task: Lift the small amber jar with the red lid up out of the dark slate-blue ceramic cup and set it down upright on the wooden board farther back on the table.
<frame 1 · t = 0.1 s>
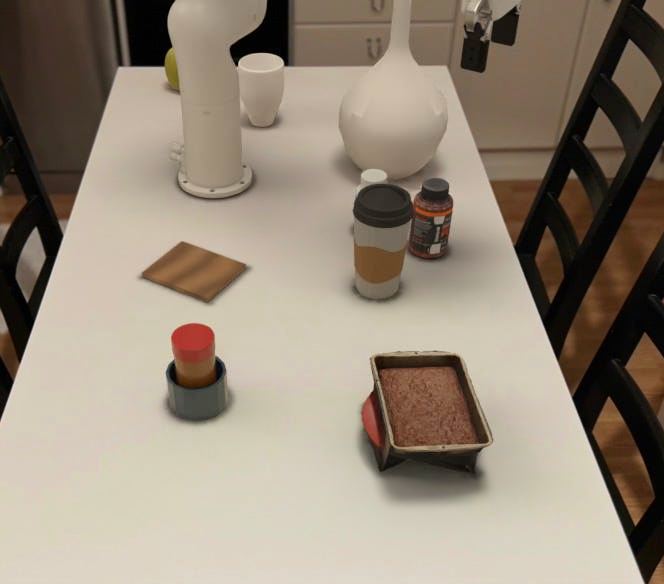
hand: (487, 56, 118), 31 cm above the table, tool pointing down, fingers open, 9 cm apart
pill bottle: (370, 231, 145), on the table
supplement bottle: (427, 250, 142), on the table
wooden board: (194, 272, 137), on the table
vase: (388, 166, 160), on the table
coffee cup: (376, 288, 134), on the table
jar: (198, 397, 116), resting on cup
baking dish: (419, 440, 112), on the table
mug: (262, 118, 174), on the table
apple: (186, 88, 183), on the table
cup: (198, 400, 117), on the table
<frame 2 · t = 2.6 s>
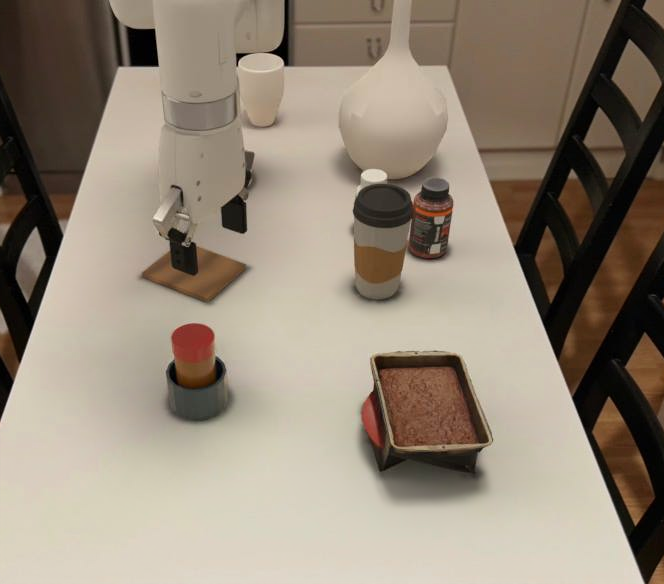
hand: (210, 249, 103), 21 cm above the table, tool pointing down, fingers open, 9 cm apart
nothing on the table moved.
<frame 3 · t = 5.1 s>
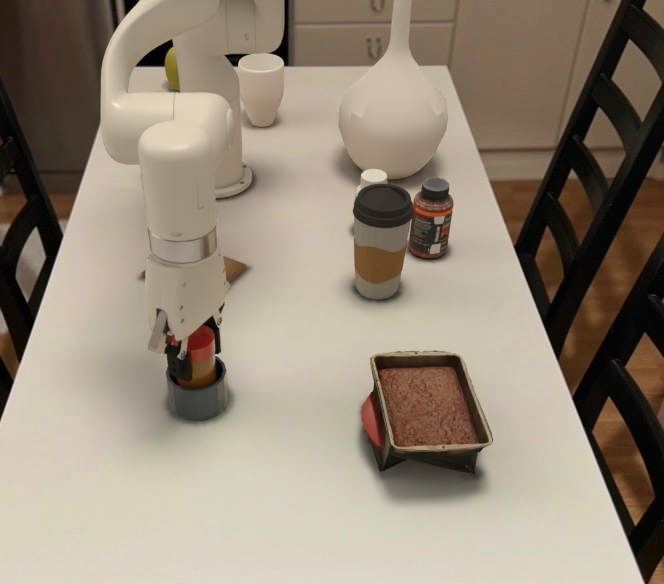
hand: (195, 362, 112), 6 cm above the table, tool pointing down, fingers closed on jar, 5 cm apart
jar: (198, 397, 116), resting on cup, touching gripper
everything else where it was.
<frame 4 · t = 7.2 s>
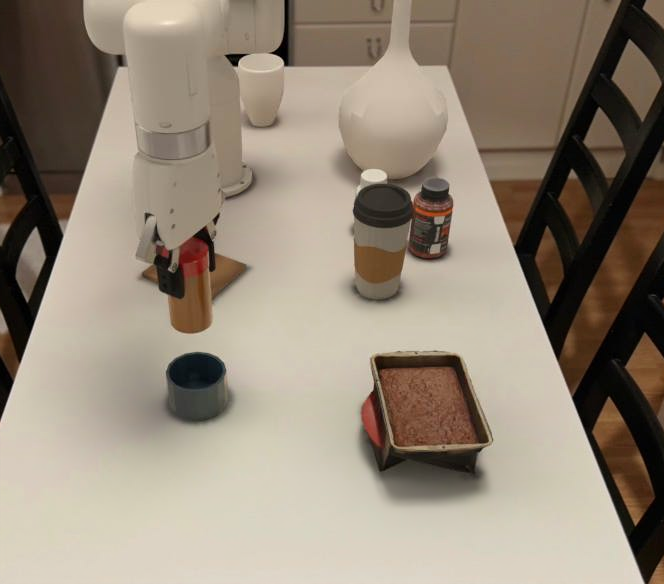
hand: (187, 279, 104), 19 cm above the table, tool pointing down, fingers closed on jar, 5 cm apart
jar: (191, 320, 108), point 13 cm above the table, touching gripper
everything else where it was.
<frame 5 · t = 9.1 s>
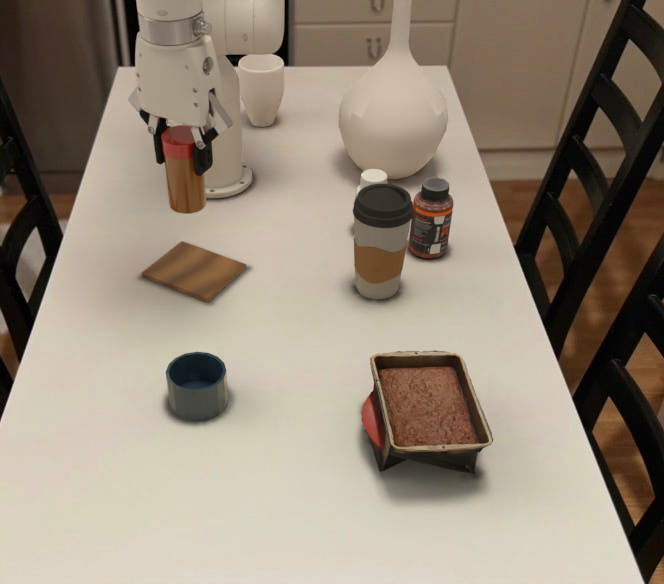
hand: (184, 163, 119), 21 cm above the table, tool pointing down, fingers closed on jar, 5 cm apart
jar: (187, 203, 123), point 15 cm above the table, touching gripper
everything else where it was.
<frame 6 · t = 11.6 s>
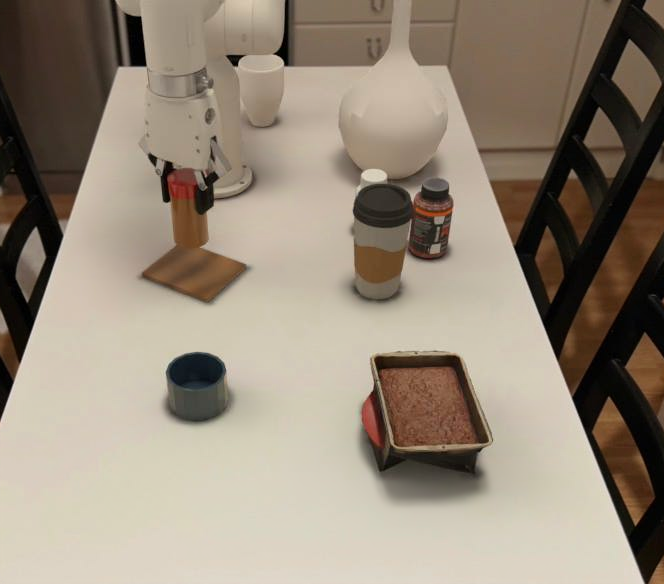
hand: (188, 203, 129), 12 cm above the table, tool pointing down, fingers closed on jar, 5 cm apart
jar: (191, 239, 133), point 6 cm above the table, touching gripper
everything else where it was.
when the fingers open (7 cm above the table, at t = 13.3 s): jar stays where it is, resting on wooden board.
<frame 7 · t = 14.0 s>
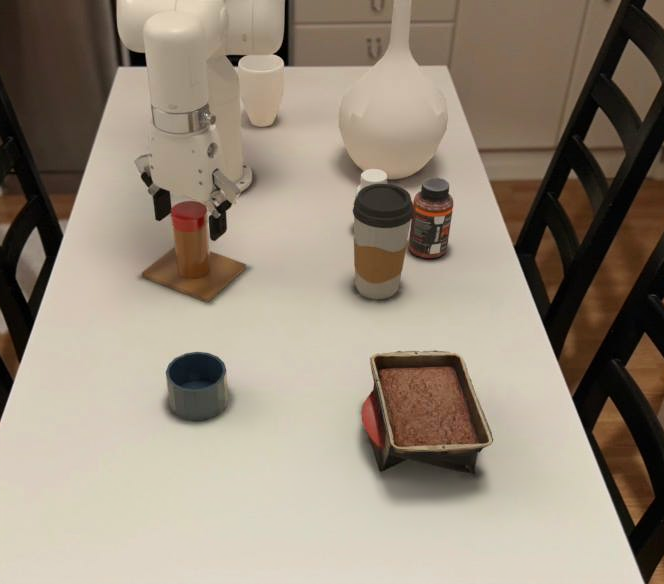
hand: (190, 226, 132), 8 cm above the table, tool pointing down, fingers open, 9 cm apart
jar: (194, 269, 136), point 1 cm above the table, touching wooden board
everything else where it was.
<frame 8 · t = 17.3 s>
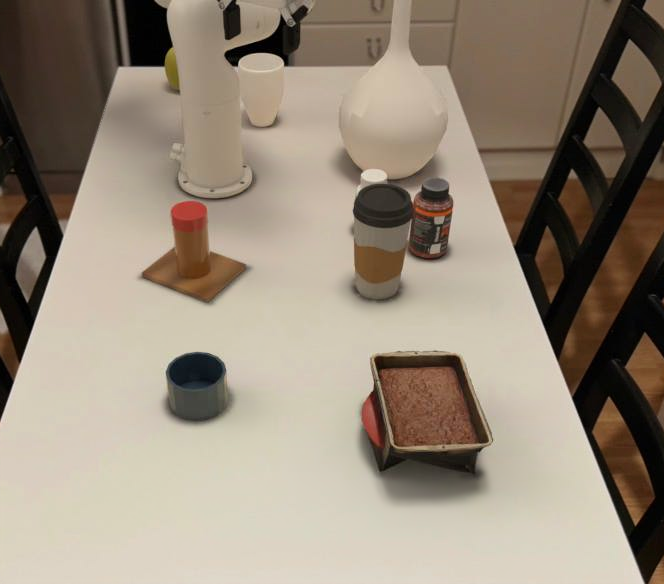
hand: (261, 44, 128), 28 cm above the table, tool pointing down, fingers open, 9 cm apart
nothing on the table moved.
at the end: jar inside the target area on the wooden board (0.2 cm from its centre), point 0.8 cm above the wooden board's base; jar tilted 0°; the gripper is holding nothing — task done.
